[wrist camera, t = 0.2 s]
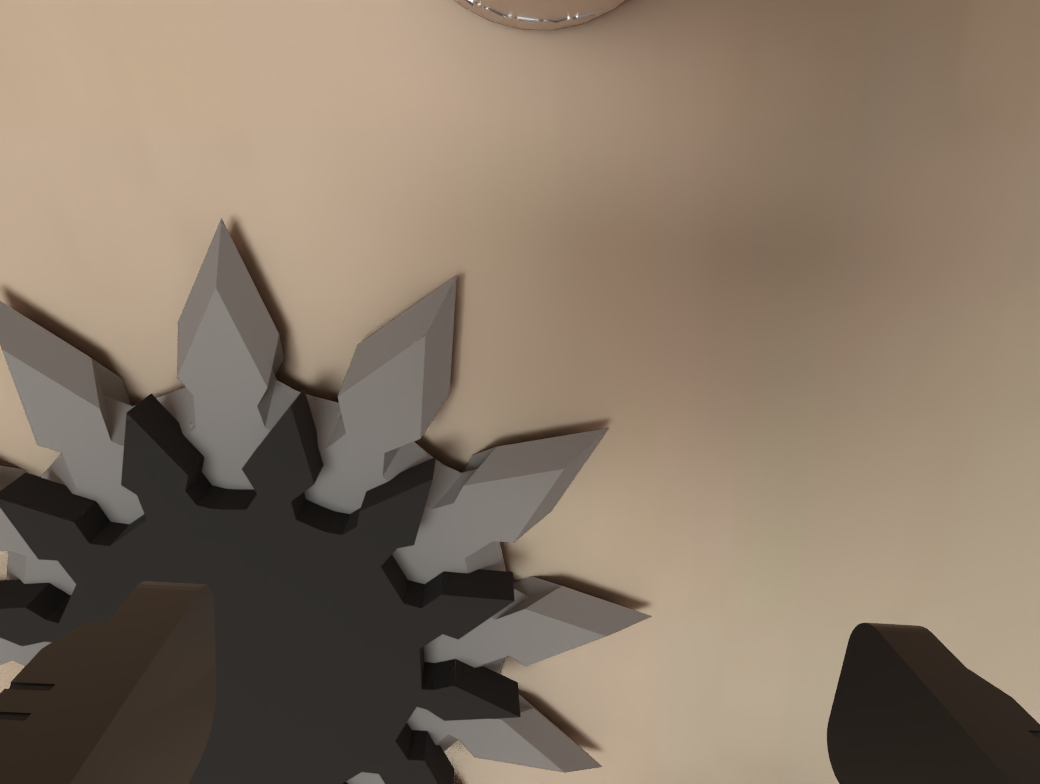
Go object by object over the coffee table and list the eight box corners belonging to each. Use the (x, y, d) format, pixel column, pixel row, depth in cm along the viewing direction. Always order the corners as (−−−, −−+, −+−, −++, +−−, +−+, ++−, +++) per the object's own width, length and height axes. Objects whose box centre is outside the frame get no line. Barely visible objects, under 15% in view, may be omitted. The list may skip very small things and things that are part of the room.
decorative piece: (-332, 812, 27) (-75, -4, 19) (-232, 729, 30) (16, 19, 23) (427, 1057, 33) (854, 513, 25) (433, 963, 36) (805, 465, 29)
